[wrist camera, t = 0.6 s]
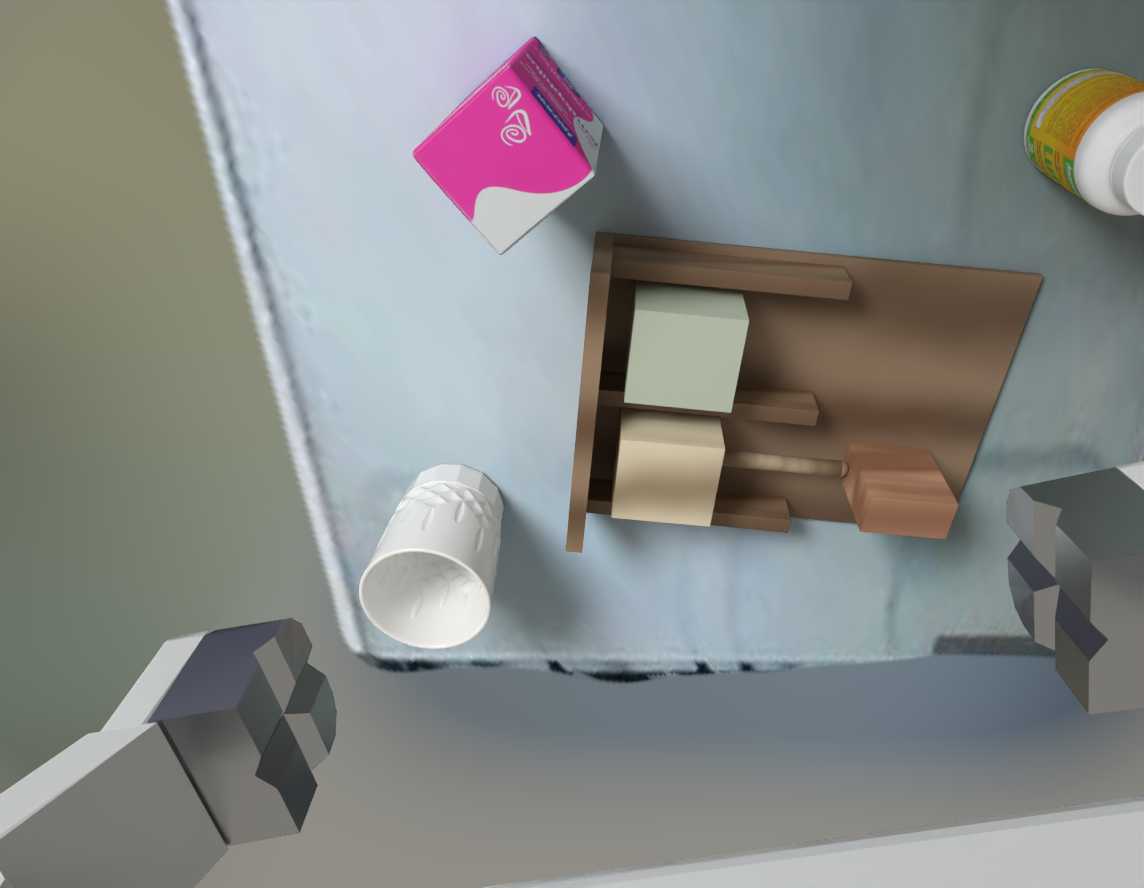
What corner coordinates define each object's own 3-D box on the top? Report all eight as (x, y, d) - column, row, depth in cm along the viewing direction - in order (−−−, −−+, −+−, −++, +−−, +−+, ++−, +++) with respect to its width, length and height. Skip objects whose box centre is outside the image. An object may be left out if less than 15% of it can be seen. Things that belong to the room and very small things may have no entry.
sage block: (635, 275, 50) (635, 309, 46) (740, 285, 50) (749, 320, 45) (625, 362, 53) (624, 402, 49) (723, 372, 53) (731, 413, 48)
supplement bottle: (997, 137, 45) (1077, 188, 37) (1084, 43, 42) (1191, 76, 34) (1069, 196, 46) (1161, 259, 38) (1157, 109, 44) (1277, 156, 35)
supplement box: (608, 122, 46) (599, 180, 36) (525, 192, 48) (495, 264, 38) (537, 29, 44) (507, 63, 34) (454, 106, 46) (403, 160, 36)
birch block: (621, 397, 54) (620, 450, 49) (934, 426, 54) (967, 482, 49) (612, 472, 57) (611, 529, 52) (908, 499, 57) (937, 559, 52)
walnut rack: (596, 231, 49) (590, 272, 44) (1040, 273, 49) (1090, 319, 43) (572, 491, 59) (565, 550, 53) (943, 528, 58) (975, 592, 53)
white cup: (502, 557, 62) (480, 660, 54) (394, 535, 62) (354, 635, 53) (521, 468, 58) (500, 564, 49) (404, 444, 58) (363, 537, 49)
